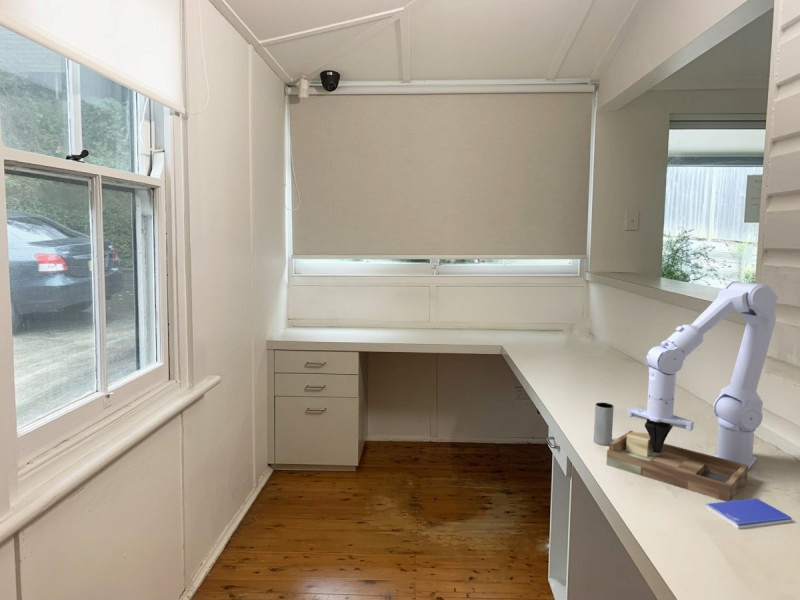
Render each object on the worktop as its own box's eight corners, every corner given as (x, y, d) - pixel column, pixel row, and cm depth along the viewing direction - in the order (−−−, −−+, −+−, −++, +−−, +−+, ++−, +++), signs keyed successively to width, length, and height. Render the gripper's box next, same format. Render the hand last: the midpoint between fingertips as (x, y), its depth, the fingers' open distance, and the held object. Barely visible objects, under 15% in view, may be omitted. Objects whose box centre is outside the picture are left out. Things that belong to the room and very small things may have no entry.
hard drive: (738, 523, 101) (792, 517, 104) (704, 502, 109) (755, 497, 112) (737, 531, 101) (791, 524, 104) (704, 510, 109) (754, 504, 112)
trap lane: (631, 448, 140) (632, 429, 139) (747, 480, 122) (748, 458, 121) (606, 464, 129) (607, 444, 129) (729, 502, 111) (731, 479, 111)
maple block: (633, 445, 136) (634, 430, 136) (654, 451, 133) (655, 435, 132) (625, 450, 133) (626, 435, 132) (646, 456, 129) (647, 440, 129)
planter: (593, 444, 143) (595, 406, 141) (593, 438, 147) (595, 401, 146) (611, 446, 141) (613, 408, 140) (611, 440, 145) (613, 403, 144)
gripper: (623, 393, 131) (620, 447, 132) (688, 407, 121) (684, 465, 122) (635, 388, 136) (631, 440, 137) (698, 400, 126) (693, 456, 127)
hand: (657, 451), depth 130 cm, fingers closed
